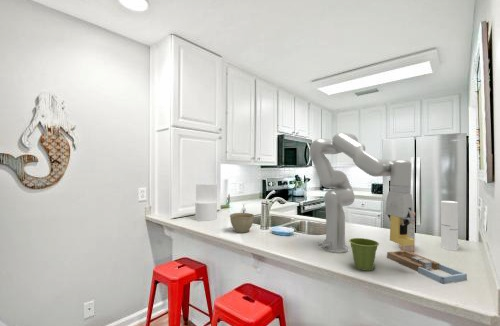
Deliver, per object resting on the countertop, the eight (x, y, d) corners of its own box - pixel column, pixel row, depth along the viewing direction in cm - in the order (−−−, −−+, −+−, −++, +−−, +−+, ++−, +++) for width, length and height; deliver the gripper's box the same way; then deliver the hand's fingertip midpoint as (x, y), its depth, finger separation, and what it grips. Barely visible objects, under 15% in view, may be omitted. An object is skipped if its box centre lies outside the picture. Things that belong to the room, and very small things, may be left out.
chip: (425, 270, 104) (425, 262, 104) (418, 267, 107) (418, 260, 107) (431, 269, 104) (431, 262, 104) (424, 266, 107) (424, 259, 108)
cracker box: (415, 254, 125) (415, 212, 125) (401, 252, 127) (401, 211, 127) (411, 246, 137) (411, 208, 137) (398, 245, 140) (398, 207, 140)
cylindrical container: (442, 245, 140) (442, 200, 140) (458, 248, 134) (458, 201, 135) (439, 248, 135) (439, 201, 135) (457, 251, 129) (457, 203, 130)
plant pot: (382, 267, 109) (382, 241, 109) (373, 276, 101) (373, 248, 101) (355, 260, 117) (355, 236, 118) (344, 267, 109) (344, 241, 109)
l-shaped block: (403, 246, 101) (404, 218, 100) (389, 240, 108) (390, 214, 107) (414, 245, 102) (415, 218, 102) (399, 239, 109) (400, 214, 109)
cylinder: (199, 216, 215) (199, 183, 215) (218, 216, 213) (219, 183, 214) (192, 220, 198) (192, 185, 198) (214, 221, 196) (214, 185, 196)
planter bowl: (255, 233, 161) (256, 217, 162) (230, 234, 159) (230, 217, 159) (251, 227, 177) (252, 212, 177) (229, 228, 175) (229, 212, 175)
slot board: (418, 274, 102) (418, 265, 102) (387, 259, 118) (387, 252, 118) (439, 271, 105) (439, 263, 105) (405, 257, 121) (405, 250, 121)
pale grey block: (417, 267, 107) (417, 259, 107) (410, 264, 110) (410, 256, 110) (423, 266, 108) (423, 258, 108) (416, 263, 111) (416, 256, 111)
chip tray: (442, 286, 92) (442, 277, 92) (417, 274, 102) (417, 266, 102) (466, 282, 95) (466, 274, 95) (440, 271, 105) (440, 263, 105)
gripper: (377, 187, 113) (376, 227, 113) (410, 192, 97) (408, 239, 97) (391, 187, 115) (390, 227, 115) (425, 192, 99) (423, 238, 99)
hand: (398, 232), depth 106 cm, fingers closed on l-shaped block, 4 cm apart
